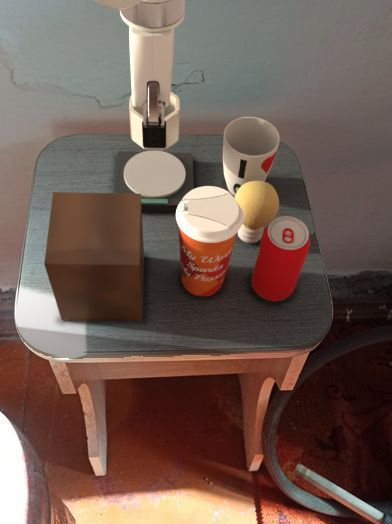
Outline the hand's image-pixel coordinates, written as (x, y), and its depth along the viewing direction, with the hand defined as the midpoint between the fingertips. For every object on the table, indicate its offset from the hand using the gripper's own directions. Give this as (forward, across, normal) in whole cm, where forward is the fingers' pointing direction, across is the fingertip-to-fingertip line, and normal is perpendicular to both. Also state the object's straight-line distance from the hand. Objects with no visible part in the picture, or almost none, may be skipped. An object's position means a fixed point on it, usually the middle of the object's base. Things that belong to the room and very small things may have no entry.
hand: (154, 126), depth 80 cm
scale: (+11, +1, 0) cm, 11 cm away
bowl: (+1, 0, 0) cm, 1 cm away
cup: (+11, +1, +14) cm, 18 cm away
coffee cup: (+11, +19, +7) cm, 23 cm away
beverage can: (+11, +20, +17) cm, 28 cm away
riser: (+11, +20, -7) cm, 24 cm away
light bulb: (+11, +11, +14) cm, 21 cm away
